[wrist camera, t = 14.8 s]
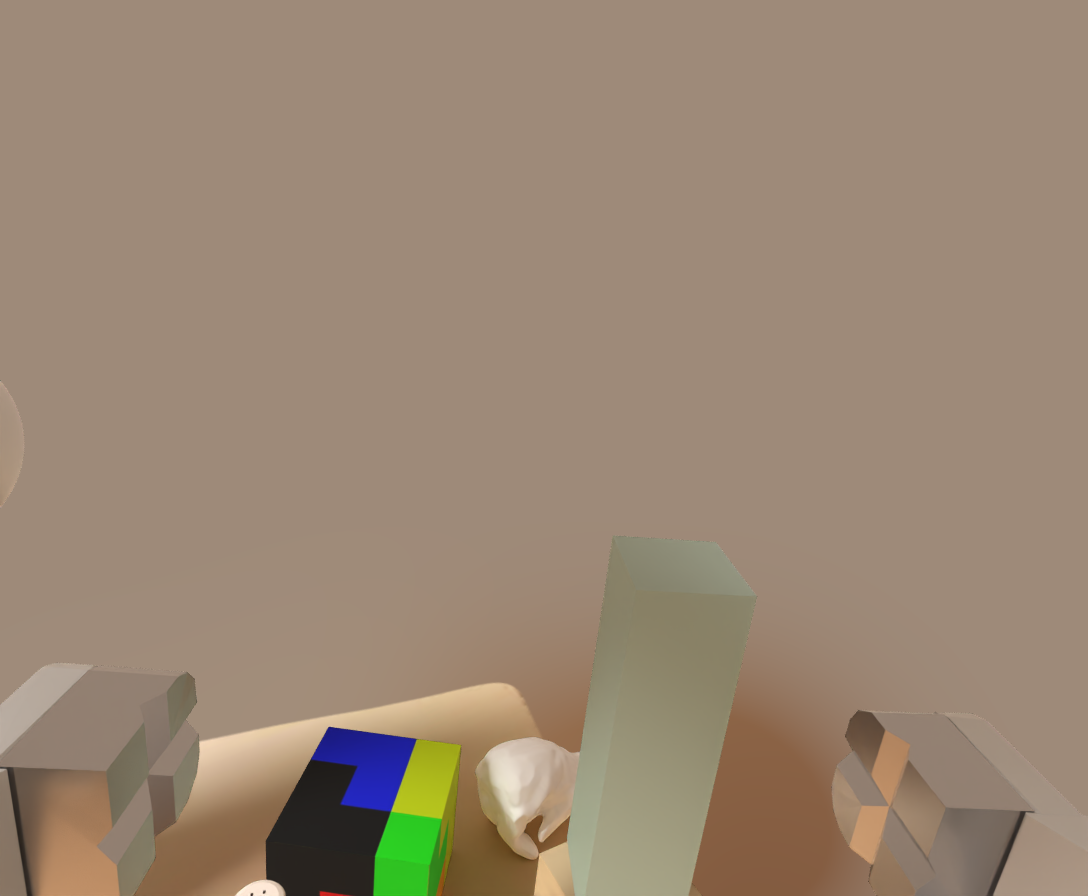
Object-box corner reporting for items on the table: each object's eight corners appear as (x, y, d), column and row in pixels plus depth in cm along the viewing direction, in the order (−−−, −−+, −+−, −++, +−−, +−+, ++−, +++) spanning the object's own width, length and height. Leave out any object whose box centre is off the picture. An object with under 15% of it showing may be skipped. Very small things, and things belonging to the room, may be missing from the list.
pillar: (579, 929, 35) (636, 590, 29) (566, 838, 40) (612, 535, 34) (681, 928, 35) (756, 596, 29) (655, 838, 41) (715, 542, 35)
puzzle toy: (327, 831, 52) (328, 726, 49) (452, 849, 52) (461, 745, 49) (268, 961, 43) (265, 841, 40) (420, 984, 42) (429, 864, 39)
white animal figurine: (474, 731, 52) (587, 695, 60) (458, 821, 54) (569, 775, 62) (520, 786, 47) (636, 739, 55) (500, 881, 49) (615, 824, 57)
